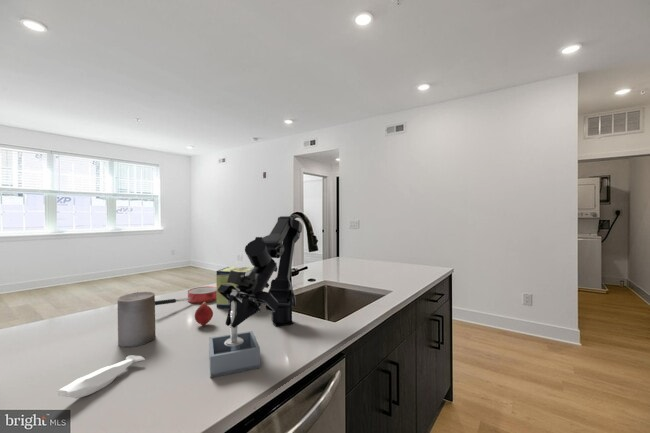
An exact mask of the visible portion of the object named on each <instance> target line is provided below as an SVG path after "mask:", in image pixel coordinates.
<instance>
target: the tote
mask: <svg viewBox="0 0 650 433" xmlns="http://www.w3.org/2000/svg"><path fill="white" fill-rule="evenodd" d="M237 334H238V335H237V336H238V337H240V338H242V339H243V340H244V342H243V344H241V345H240V349H239V350H238V351H232V352H230V351H229V350H228V347H226V346H225V345H224V342H225V341H226V340H227V339H229V338H231V337H230V336H231V335H230V334H224V335H219V336H218V335H217V336H212V337H209V338H208V341H209V342H208V356H209V359H208V360H209V376H210V378H211V379H212V378H217V377H222V376H226V375H232V374H237V373H242V372H246V371H251V370H255V369H260V368H261V348H260V345H259V342H258V340H257V338H256V336H255V333H254V331H253V330H250V331H244V332H238V333H237Z"/></svg>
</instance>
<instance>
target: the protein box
mask: <svg viewBox="0 0 650 433" xmlns="http://www.w3.org/2000/svg"><path fill="white" fill-rule="evenodd" d="M253 268H254V266H253V267H252V266H251V267H249V266H248V267H247V266H244V267H243V266H242V267H241V266H226V267H224V268H221V269H218V270H216V287H217V290H218V288H219V287H220V285H222V284H228V285H233V286H234V287H235V288H236V289H237V290H238V291H240V289H238V288H237V287H236V285H237V284H234V283H228V282H227V280H228V277H229V274H230V271H237V272H242V273H246V272H247V271H252V269H253ZM229 307H230V301H228V300H227V299H226V298H224V297H223V296H222V295H221V294H220V293H219V292H218V291H217V300H216V309H228V310H229Z"/></svg>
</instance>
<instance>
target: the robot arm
mask: <svg viewBox="0 0 650 433" xmlns="http://www.w3.org/2000/svg"><path fill="white" fill-rule="evenodd" d="M302 230H303V225H302V222H300V220H298V219H295V218H293V217H292V216H289V215H286V216H283V215H281V216H278V217H277V221H276V223H275V225H274V227H273V228H272V230H271V231H270V233H269V234H267V235H265V236H255V238H254V240H251V241H249V242H248V243H247V244H246V245H245V247H244V252H245V254H246V256H247V258H248V260H249V261H250V263H251V265H252V266H253V267H254V268H253V269H252V271H247V272H246V273H242V272H237V271H230V274H229V277H228V280H227V282H228V283H234V284H237V285H236V287H237V288H238V289H240V291H238V290H237V289H236V288H235V287H234V286H233V285H228V284H222V285H220V287H219V288H218V290H217V291H218V292H219V293H220V294H221V295H222V296H223V297H224V298H226V299H227V300H228V301H230V307H229V309H228V312H227V316H226V320H225V325H226V326H228V327H229V326H230V325H231V321H230V320H231V319H230V318H231V317H230V316H231V302H232V301H236V309H237V315H236V317H235V319H234V321H233V323H232V325H231V326H232V327H233V328H235V327H236V326H237V327H238V326H240V324H242V323H243V322H245V321H246V320H247V319H248V318H250V317H252V316H253V315H254V314H257V313H258V312H261V311H262V309H261V308H262V306H263V305H265V309H266V310H267V311H268V312H271V322H272V323H273V325H274V326H275V327H281V326H288V325H293V324H294V321H293V308H294V307H296V306H297V298H296V294H295V292H294V290H293V289H294V287H293V284H292V282H291V280H290V279H291V272H292V265H293V259H294V251H295V243H297V241H298V240H299V239H300V236H301V233H302V232H303V231H302ZM274 259H279V264H278V262H276V261H275V260H274ZM277 264H278V266H277ZM274 272H275V273H277V276H276V277H275V278H274V279H272V280H271V281H270V279H271V277H272V276H273V273H274ZM269 281H270V284H269ZM269 286H270V287H269ZM265 288H267V289H269V290H268V292H267V291H264V289H265ZM231 326H230V327H231Z"/></svg>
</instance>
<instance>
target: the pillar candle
mask: <svg viewBox="0 0 650 433" xmlns="http://www.w3.org/2000/svg"><path fill="white" fill-rule="evenodd" d="M155 296H156V295H155V293H154V292H152V291H137V292H133V293H127V294H124V295H121V296H120V297H118V298H117V299H116V301H117V345H118V346H119V347H123V348H125V347H130V348H132V347H133V348H135V347H139V346H142V345H145V344H148V343H149V342H152V341H153V340H154V339H155V338H156V305H155V301H156V298H155Z"/></svg>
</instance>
